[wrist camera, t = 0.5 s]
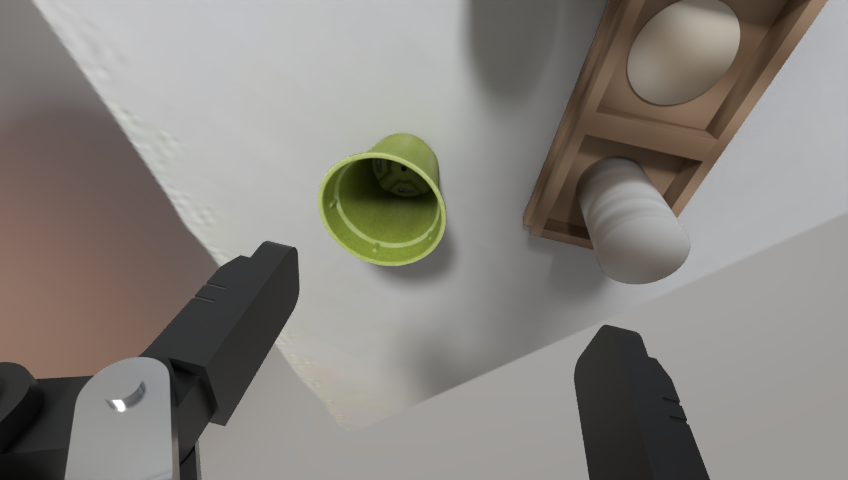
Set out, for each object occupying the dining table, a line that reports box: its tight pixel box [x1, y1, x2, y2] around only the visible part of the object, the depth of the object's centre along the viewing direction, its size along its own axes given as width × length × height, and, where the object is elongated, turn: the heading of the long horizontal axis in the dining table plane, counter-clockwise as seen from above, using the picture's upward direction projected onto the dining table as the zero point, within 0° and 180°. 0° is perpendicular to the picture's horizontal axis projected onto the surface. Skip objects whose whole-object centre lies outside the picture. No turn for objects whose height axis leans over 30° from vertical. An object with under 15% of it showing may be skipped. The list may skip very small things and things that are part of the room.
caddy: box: [523, 0, 828, 284], centre depth 25 cm, size 21×11×10 cm, turn 170°
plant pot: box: [318, 134, 446, 266], centre depth 31 cm, size 9×9×9 cm
